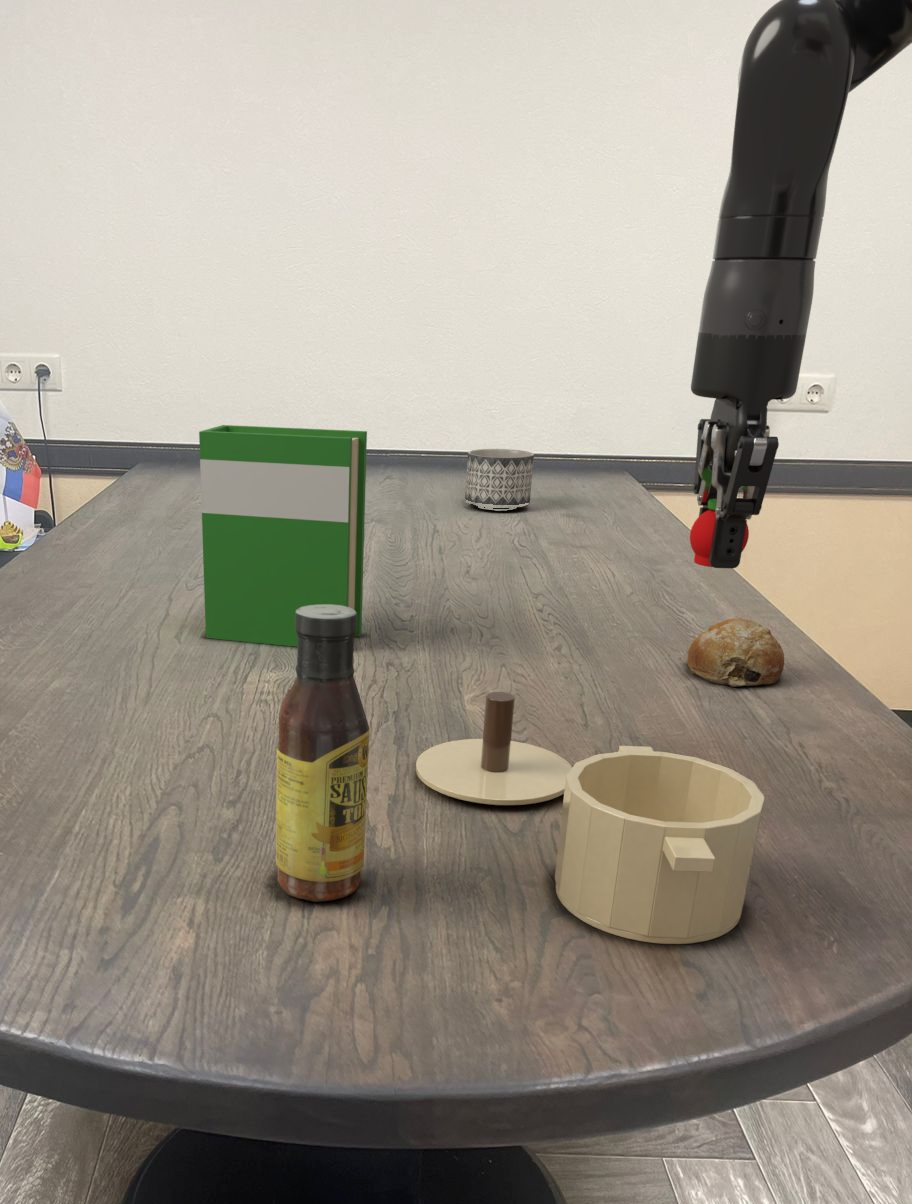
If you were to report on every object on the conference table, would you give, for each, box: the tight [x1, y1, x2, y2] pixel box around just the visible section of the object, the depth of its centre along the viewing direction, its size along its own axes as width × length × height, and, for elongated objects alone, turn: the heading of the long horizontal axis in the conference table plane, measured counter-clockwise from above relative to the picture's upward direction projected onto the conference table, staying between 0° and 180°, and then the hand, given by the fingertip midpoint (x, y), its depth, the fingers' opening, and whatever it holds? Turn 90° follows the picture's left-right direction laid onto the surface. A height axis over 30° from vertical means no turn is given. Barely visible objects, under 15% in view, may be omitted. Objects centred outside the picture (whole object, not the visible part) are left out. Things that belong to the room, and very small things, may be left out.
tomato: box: [689, 499, 750, 568], centre depth 88 cm, size 4×4×5 cm
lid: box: [415, 691, 573, 806], centre depth 95 cm, size 14×14×8 cm
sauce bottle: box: [275, 604, 371, 903], centre depth 75 cm, size 6×6×20 cm
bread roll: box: [686, 617, 785, 688], centre depth 122 cm, size 10×10×8 cm
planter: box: [464, 448, 535, 509], centre depth 216 cm, size 13×13×10 cm
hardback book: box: [198, 424, 368, 648], centre depth 131 cm, size 18×7×24 cm, turn 73°
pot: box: [554, 745, 766, 945], centre depth 76 cm, size 13×18×8 cm
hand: (715, 559), depth 89 cm, fingers closed on tomato, 4 cm apart
